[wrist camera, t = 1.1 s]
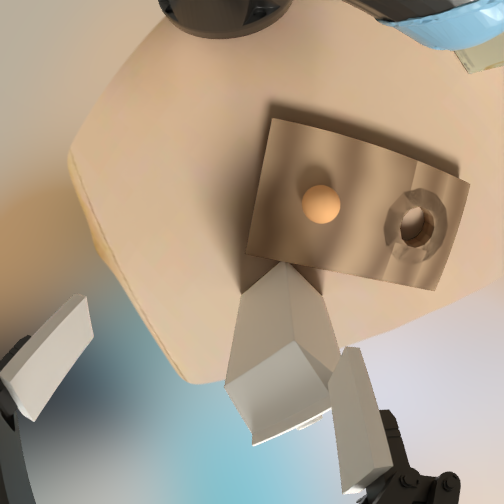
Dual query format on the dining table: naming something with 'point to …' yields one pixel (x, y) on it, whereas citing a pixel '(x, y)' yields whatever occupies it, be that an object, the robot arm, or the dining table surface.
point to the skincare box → (483, 55)
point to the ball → (321, 204)
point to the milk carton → (281, 355)
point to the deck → (354, 207)
